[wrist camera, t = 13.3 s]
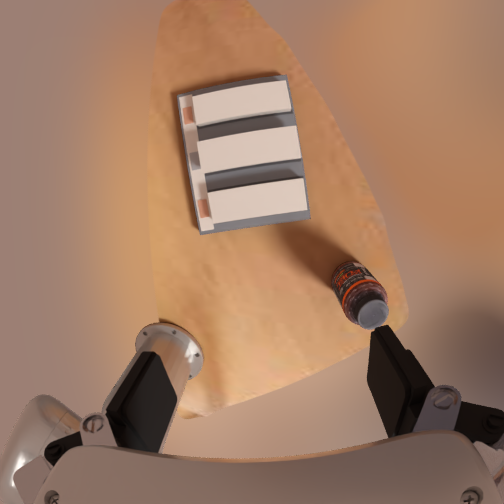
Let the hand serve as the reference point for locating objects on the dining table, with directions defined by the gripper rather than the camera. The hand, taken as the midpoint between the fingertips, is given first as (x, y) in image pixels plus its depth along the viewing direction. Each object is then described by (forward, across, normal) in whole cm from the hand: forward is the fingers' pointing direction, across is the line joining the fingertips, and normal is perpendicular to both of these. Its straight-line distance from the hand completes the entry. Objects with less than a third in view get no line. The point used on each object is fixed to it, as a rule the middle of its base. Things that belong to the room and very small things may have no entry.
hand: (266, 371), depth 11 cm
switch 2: (+27, +1, -5) cm, 27 cm away
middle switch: (+25, +1, -11) cm, 28 cm away
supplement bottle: (+28, -11, +9) cm, 32 cm away
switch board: (+28, +2, -11) cm, 31 cm away
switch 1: (+27, +1, -18) cm, 32 cm away
